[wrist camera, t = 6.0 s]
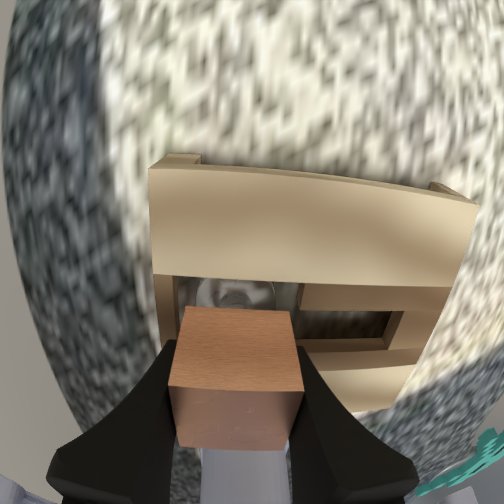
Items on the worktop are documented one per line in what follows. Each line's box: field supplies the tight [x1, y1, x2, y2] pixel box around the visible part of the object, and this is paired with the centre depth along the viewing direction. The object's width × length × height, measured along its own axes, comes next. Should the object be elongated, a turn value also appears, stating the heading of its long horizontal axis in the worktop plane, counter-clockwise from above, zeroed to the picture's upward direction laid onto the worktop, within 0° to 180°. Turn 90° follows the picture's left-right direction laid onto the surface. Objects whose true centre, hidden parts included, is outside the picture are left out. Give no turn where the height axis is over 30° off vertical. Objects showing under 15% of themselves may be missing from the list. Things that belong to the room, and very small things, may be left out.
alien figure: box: [415, 427, 504, 497], centre depth 36 cm, size 20×2×20 cm
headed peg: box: [168, 277, 304, 451], centre depth 13 cm, size 4×4×8 cm
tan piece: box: [148, 153, 480, 413], centre depth 16 cm, size 14×14×3 cm
